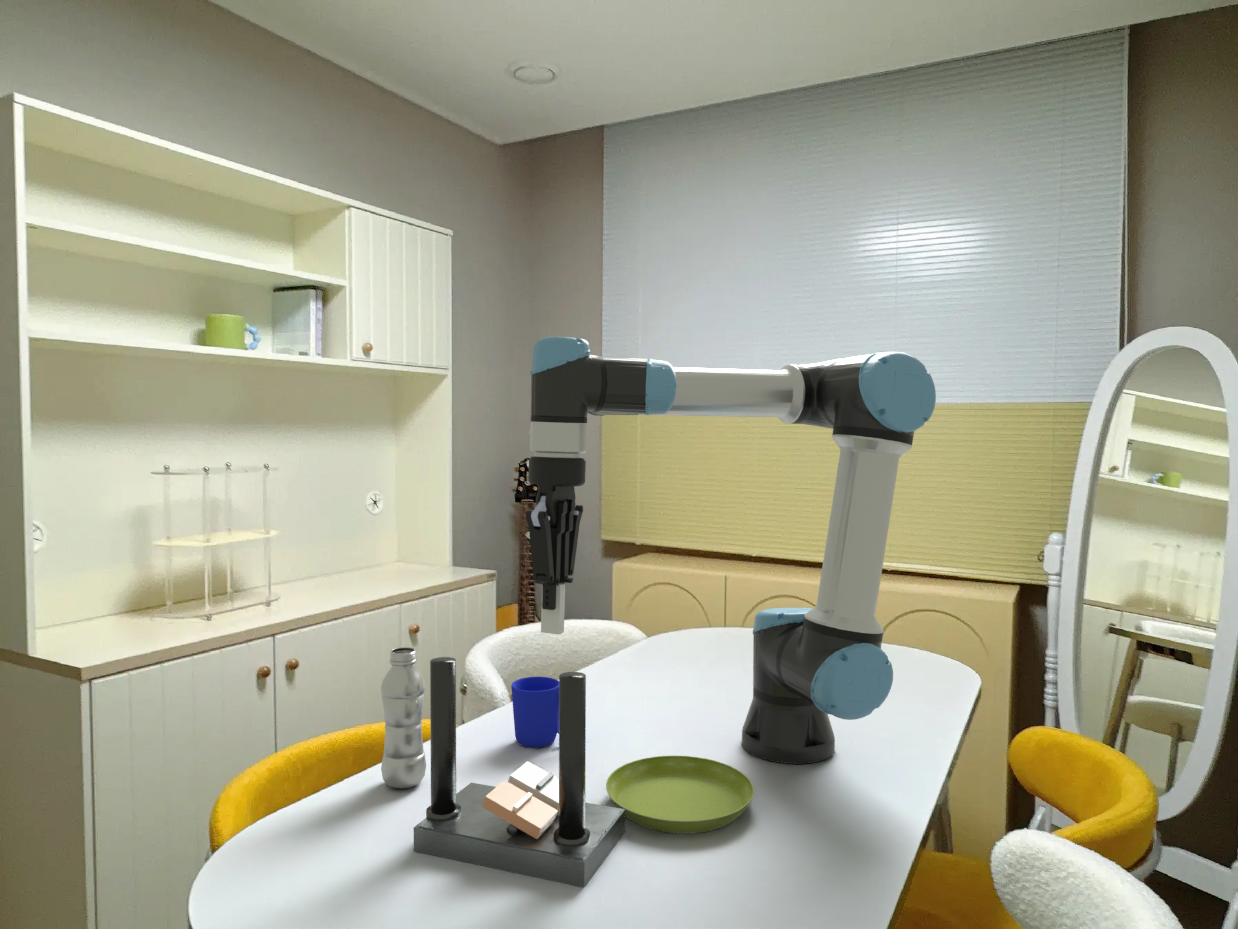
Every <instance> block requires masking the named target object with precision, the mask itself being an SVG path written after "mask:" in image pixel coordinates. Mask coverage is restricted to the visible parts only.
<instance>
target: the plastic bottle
mask: <svg viewBox="0 0 1238 929" xmlns="http://www.w3.org/2000/svg"><path fill="white" fill-rule="evenodd" d="M416 654H417V652H416V648H413V647H407V646H406V647H405V646H404V647H403V646H402V647H401V646H400V647H395V648H393V649H391V650H390V659H389V664H390V666H391V667H390V669H389V670H388V671H387V673H386V675H385V676H384V678H383V680H382V681H381V682H382V683H381V686H380V691H381V692H380V693H381V694H380V695H381V699H382V707H383V712H384V713H383V716H384V729H385V730H384V731H385V733H384V746H383V754H382V758H381V768H380V770H381V771H380V772H381V776H382V780H383V782H384V783H385V784H386V786H388V787H390V788H392V789H393V788H394V789H406V788H413V787H415V786H417V785H419V784H421V782H422V781H423V779H424V777H425V775H426V769H427V760H426V754H425V750H424V741H423V730H422V724H423V722H422V720H423V708H424V707H423V706H424V698H425V691H426V683H425V679H424V677H423V675H422V673H421V672H420V670H418V668H417V667H416V666H415V664H416V663H417V658H416Z"/></svg>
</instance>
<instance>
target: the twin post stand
mask: <svg viewBox="0 0 1238 929" xmlns="http://www.w3.org/2000/svg"><path fill="white" fill-rule="evenodd" d="M429 664H430V666H429V667H430V668H429V669H430V670H429V671H430V672H429V676H430V677H429V678H430V679H429V680H430V681H429V682H430V684H429V685H430V687H429V688H430V689H429V690H430V691H429V692H430V694H429V695H430V704H429V705H430V714H429V715H430V717H429V718H430V805H429V806H427V808H426V810H425V813H426V814H425V815H426V817H425V818H424V819H423V820H421V821H420V822H418V824H416V825H415V826H414V827H413V852H416V853H417V852H418V853H421V854H426V855H429V856H430V855H431V856H434V857H435V856H436V857H440V858H444V859H448V860H455V861H459V862H463V863H468V864H472V865H476V866H477V865H478V866H483V867H486V868H487V867H488V868H492V869H497V870H499V871H500V870H502V871H505V872H509V873H510V872H511V873H515V874H521V875H525V876H529V877H534V878H539V879H543V880H549V881H554V882H557V883H562V884H568V885H572V886H577V887H582V888H585V887H586V886H587V884H588V883H589V882H590V880H591V879H592V878H593V876H594V875H595V873H596V872H597V871H598V870H599V868H600V867H601V866H602V864H603V863H604V861H605V860H606V858H607V857H608V856H609V854H610V853H611V852H612V851H613V849H614V847H616V845H617V844H618V842H620V839H622V837H623V835H624V834H625V833H626V815H625V809H621V808H617V807H616V806H608V805H602V804H596V803H591V802H586V748H587V747H586V742H587V740H586V736H587V735H586V731H587V730H586V726H587V724H586V723H587V722H586V720H587V717H586V716H587V715H586V714H587V711H586V710H587V708H586V706H587V702H586V701H587V699H586V697H587V695H586V693H587V692H586V690H587V681H586V680H587V679H586V678H587V674H585V673H583V672H579V671H567V672H562V673H560V674H559V675H558V679H559V680H558V681H559V734H558V778H559V815H556V818H555V820H554V822H553V823H552V824H551V825H550V826H549V827H548V828H547V829H546V830H545V831H544V832H543V833H542V835H541V836H540V837H539V838H538V839H536V838H534V837H532V836H530V835H529V834H527V833H525V832H524V831H522V830H520V829H519V828H517V827H515V826H513V825H512V824H510V823H508V822H507V821H505V820H503V819H502V818H500V817H498V816H496V815H495V814H493V813H491V812H490V811H488V810H486V809H485V808H483V807H482V805H483V802H484V799H485V796H486V795H487V794H489V793H490V792H491V791H492V790H493V789H495V788H496V787H497V786H495V785H494V786H493V785H488V784H481V783H477V782H470V783H468V785H466V786H465V787H463V788H462V789H460V790H459V792H457V660H456V658H454V657H450V656H440V657H435V658H431V660H429Z"/></svg>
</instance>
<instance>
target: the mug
mask: <svg viewBox="0 0 1238 929" xmlns="http://www.w3.org/2000/svg"><path fill="white" fill-rule="evenodd" d="M510 686H511V687H510V688H511V699H512V702H511V703H512V713H513V724H514V725H513V726H514V735H515V739H516V742H517V743H518V745H520V746H523V747H524V748H525V747H526V748H530V749H531V748H532V749H534V748H535V749H536V748H537V749H539V748H545V747H547V746H550V745H551V744H553V743H554V742H555V740H556V737H557V734H558V735H559V680H558V679H556V678H553V677H548V676H527V677H522V678H519V679H516V680H514V681H513V682H512V683H511V685H510Z"/></svg>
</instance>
